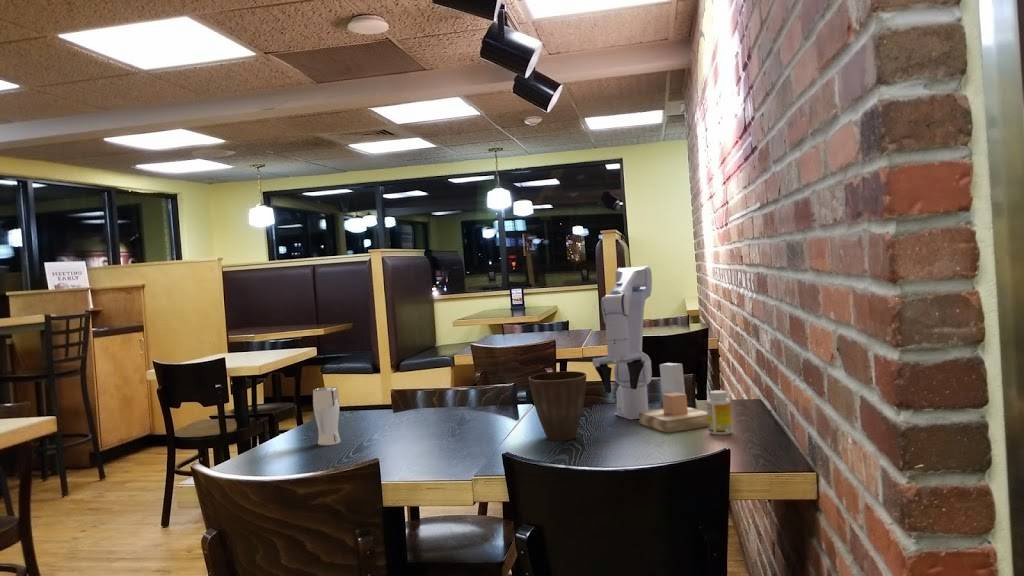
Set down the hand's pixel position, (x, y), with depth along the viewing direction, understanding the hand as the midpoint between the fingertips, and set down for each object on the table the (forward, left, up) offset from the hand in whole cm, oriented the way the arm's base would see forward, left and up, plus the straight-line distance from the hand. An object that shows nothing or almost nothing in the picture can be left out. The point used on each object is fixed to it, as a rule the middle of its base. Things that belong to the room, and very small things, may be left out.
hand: (621, 390), depth 189 cm
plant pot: (0, -18, -10) cm, 21 cm away
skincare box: (-21, +29, -10) cm, 37 cm away
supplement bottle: (+20, +16, -10) cm, 28 cm away
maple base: (+5, +13, -10) cm, 17 cm away
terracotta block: (+5, +13, -7) cm, 16 cm away
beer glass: (-34, -73, -10) cm, 81 cm away
